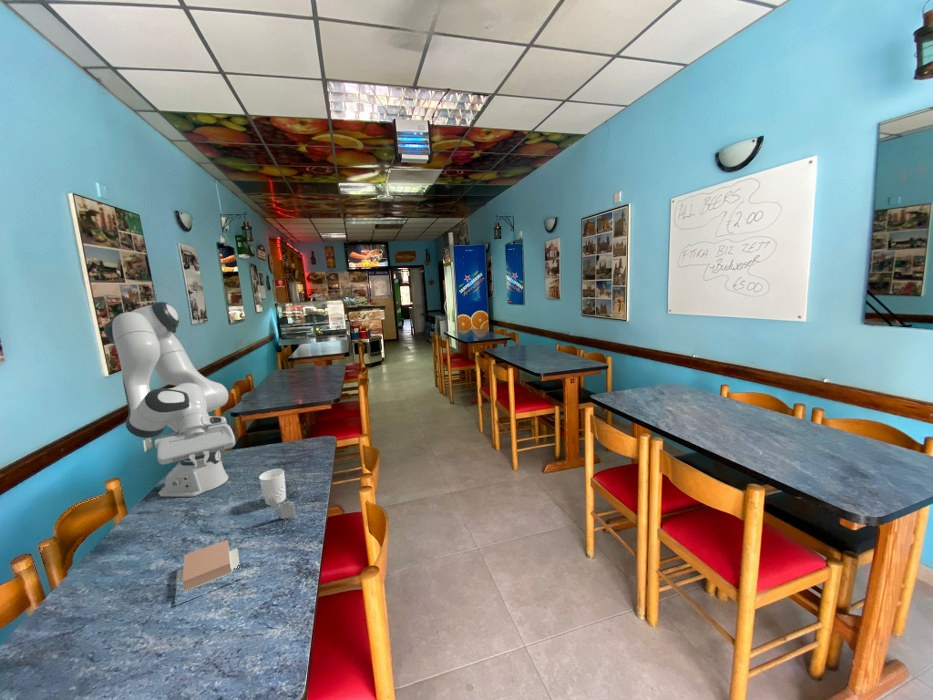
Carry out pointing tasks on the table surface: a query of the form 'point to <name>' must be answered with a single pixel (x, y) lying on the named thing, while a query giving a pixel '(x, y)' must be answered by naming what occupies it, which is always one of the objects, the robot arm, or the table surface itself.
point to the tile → (206, 565)
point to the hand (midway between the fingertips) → (201, 467)
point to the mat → (233, 559)
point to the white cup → (273, 485)
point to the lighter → (283, 508)
